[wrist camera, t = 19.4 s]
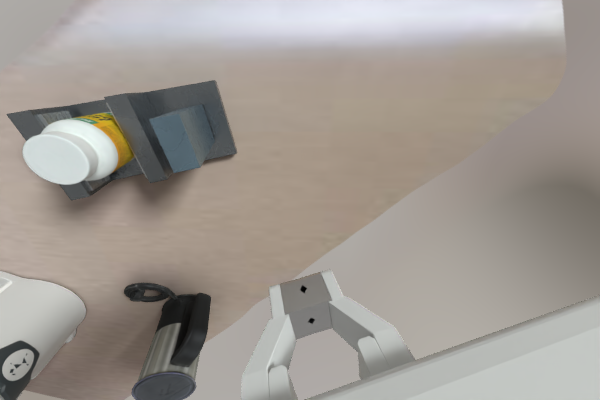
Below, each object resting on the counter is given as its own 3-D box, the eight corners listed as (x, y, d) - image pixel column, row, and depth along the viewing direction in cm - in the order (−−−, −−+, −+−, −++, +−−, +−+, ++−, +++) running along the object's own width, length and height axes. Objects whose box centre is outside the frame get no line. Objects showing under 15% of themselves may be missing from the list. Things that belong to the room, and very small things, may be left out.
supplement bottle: (108, 165, 31) (45, 201, 21) (77, 118, 28) (-14, 135, 18) (154, 152, 32) (113, 182, 22) (128, 106, 29) (67, 116, 19)
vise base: (103, 179, 33) (71, 200, 27) (57, 108, 28) (6, 114, 22) (237, 150, 35) (235, 164, 29) (215, 80, 31) (208, 79, 24)
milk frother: (204, 324, 51) (190, 404, 38) (123, 320, 46) (75, 412, 33) (219, 279, 46) (209, 353, 33) (130, 268, 41) (77, 352, 28)
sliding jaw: (161, 169, 33) (119, 210, 22) (125, 96, 28) (48, 101, 17) (220, 156, 34) (209, 189, 23) (195, 83, 29) (166, 81, 18)
